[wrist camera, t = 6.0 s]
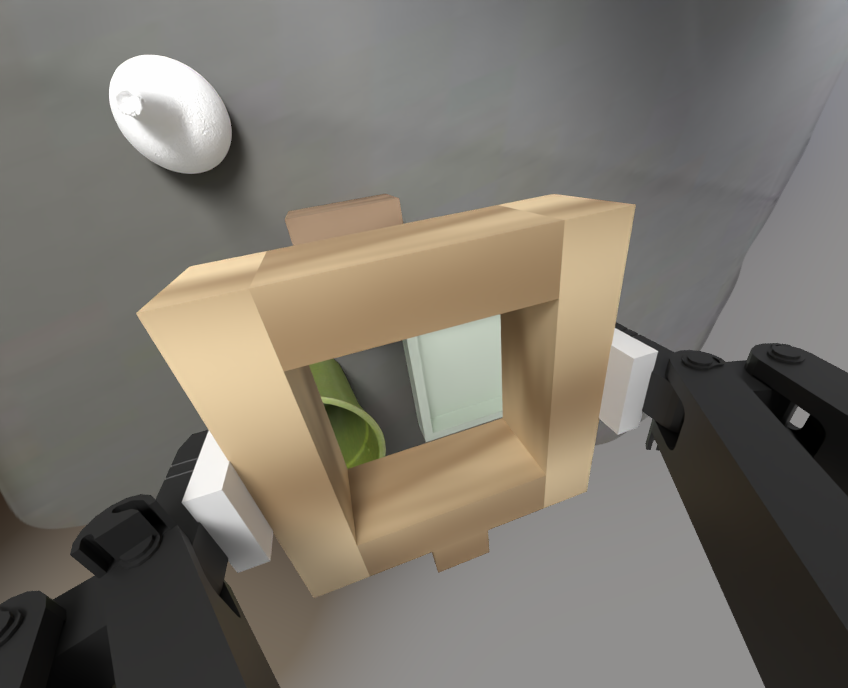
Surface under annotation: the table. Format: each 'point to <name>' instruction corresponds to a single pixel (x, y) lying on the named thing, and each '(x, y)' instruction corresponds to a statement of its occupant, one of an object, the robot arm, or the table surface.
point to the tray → (456, 376)
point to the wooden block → (343, 218)
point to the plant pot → (347, 416)
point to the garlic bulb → (170, 114)
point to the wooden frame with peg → (390, 322)
